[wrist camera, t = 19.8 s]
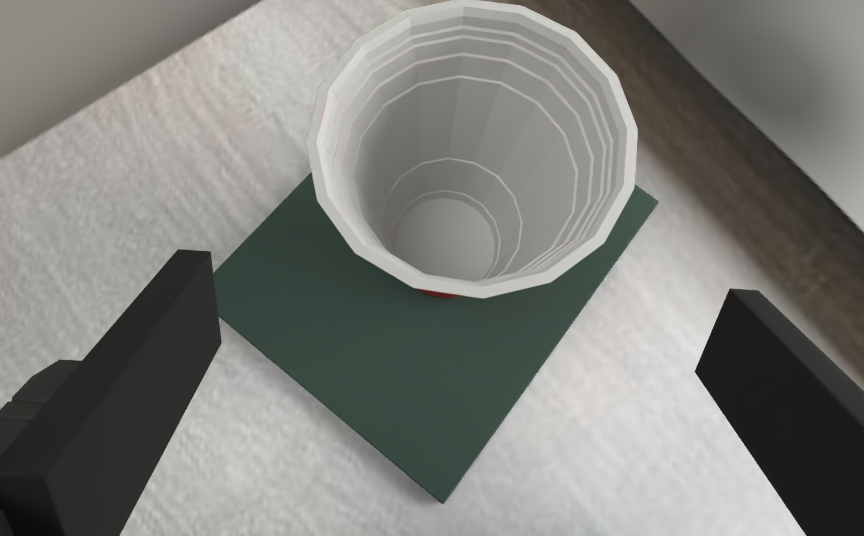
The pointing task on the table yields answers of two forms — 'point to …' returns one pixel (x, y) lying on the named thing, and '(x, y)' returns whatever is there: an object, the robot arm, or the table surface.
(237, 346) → the table surface
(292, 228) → the placemat
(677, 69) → the table surface
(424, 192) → the plastic cup
